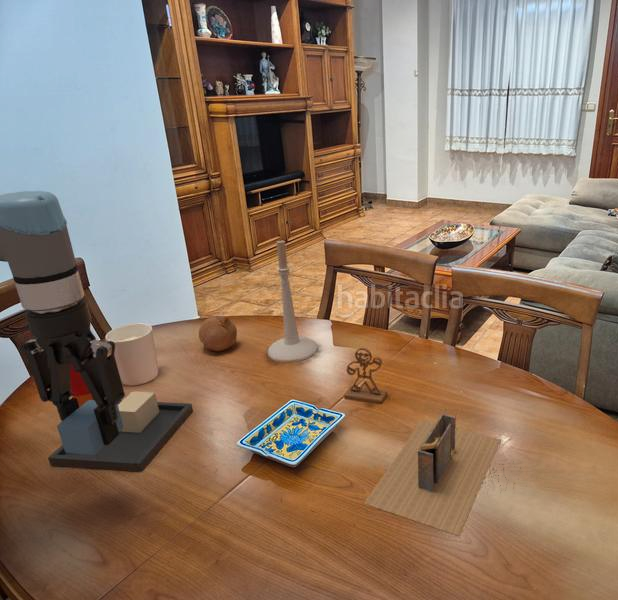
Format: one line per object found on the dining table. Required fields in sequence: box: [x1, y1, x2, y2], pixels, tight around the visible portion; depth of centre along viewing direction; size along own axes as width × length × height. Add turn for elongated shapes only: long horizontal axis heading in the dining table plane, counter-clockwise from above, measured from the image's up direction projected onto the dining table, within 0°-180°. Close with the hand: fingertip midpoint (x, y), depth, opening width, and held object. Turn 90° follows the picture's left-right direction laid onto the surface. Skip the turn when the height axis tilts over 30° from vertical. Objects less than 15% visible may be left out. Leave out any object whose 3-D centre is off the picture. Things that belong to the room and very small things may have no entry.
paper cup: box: [70, 350, 94, 407], centre depth 110 cm, size 8×8×14 cm
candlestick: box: [267, 239, 319, 363], centre depth 128 cm, size 13×13×30 cm
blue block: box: [56, 400, 123, 455], centre depth 80 cm, size 5×7×5 cm
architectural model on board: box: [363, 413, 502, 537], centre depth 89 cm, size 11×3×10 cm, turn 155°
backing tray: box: [47, 399, 194, 472], centre depth 101 cm, size 18×19×2 cm
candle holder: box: [105, 322, 159, 387], centre depth 121 cm, size 10×10×12 cm
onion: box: [198, 315, 238, 353], centre depth 135 cm, size 10×9×10 cm
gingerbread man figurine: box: [343, 347, 388, 405], centre depth 111 cm, size 9×4×12 cm, turn 73°
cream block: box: [118, 390, 159, 433], centre depth 104 cm, size 5×7×5 cm
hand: (95, 438), depth 81 cm, fingers closed on blue block, 5 cm apart
